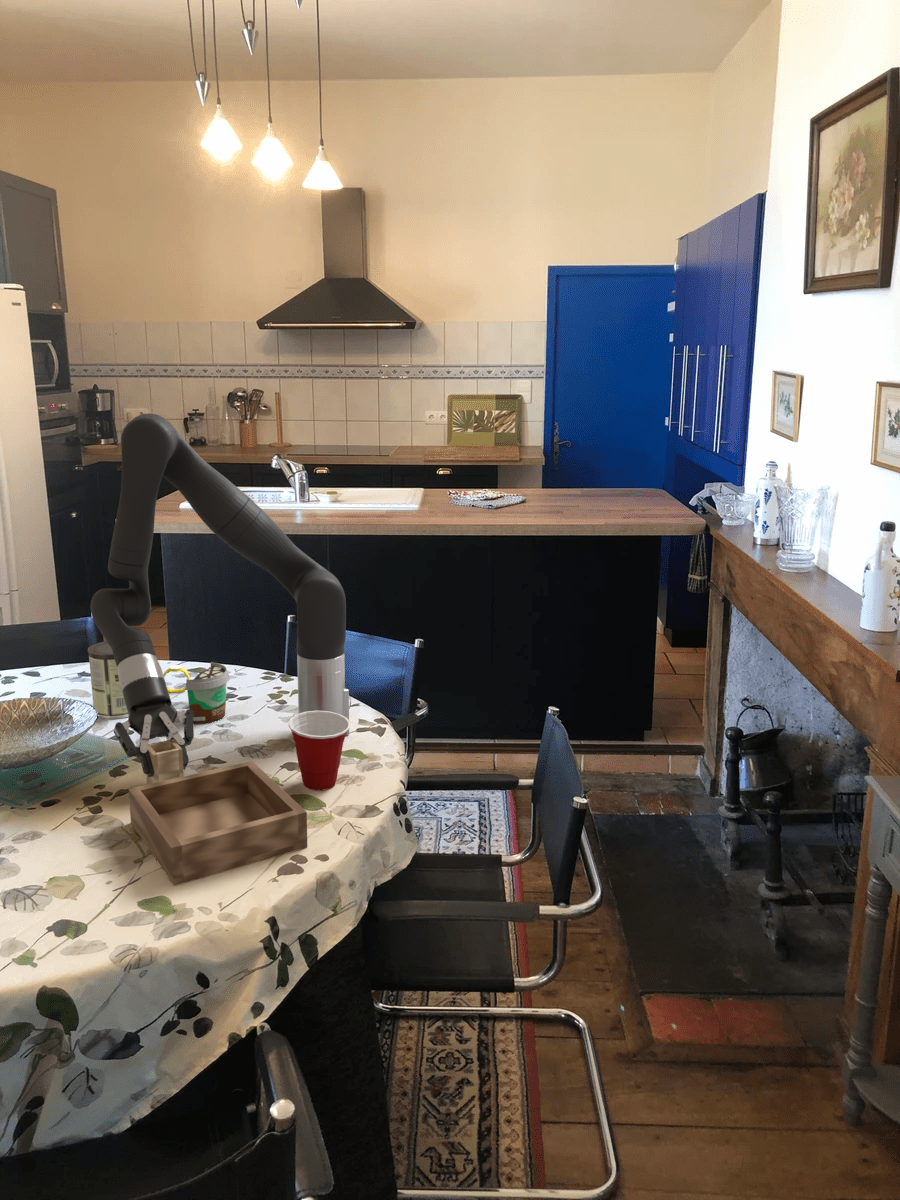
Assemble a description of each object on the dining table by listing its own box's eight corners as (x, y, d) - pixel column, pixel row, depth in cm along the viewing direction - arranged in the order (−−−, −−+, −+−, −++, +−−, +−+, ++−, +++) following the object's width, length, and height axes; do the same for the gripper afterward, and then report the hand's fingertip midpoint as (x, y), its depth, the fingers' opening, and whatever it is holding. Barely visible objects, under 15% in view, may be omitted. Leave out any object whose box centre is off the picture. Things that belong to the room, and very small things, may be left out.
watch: (189, 690, 215) (190, 665, 214) (189, 694, 213) (189, 669, 211) (162, 689, 214) (162, 664, 213) (161, 693, 212) (161, 668, 210)
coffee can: (122, 698, 209) (117, 636, 205) (154, 708, 204) (150, 645, 200) (82, 712, 200) (76, 648, 197) (114, 723, 195) (109, 657, 192)
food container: (215, 729, 193) (213, 682, 190) (187, 726, 194) (185, 680, 191) (240, 708, 205) (238, 663, 202) (213, 705, 206) (211, 661, 203)
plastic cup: (325, 803, 163) (323, 738, 159) (277, 787, 168) (275, 724, 165) (363, 780, 171) (363, 718, 168) (316, 766, 177) (315, 705, 174)
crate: (253, 792, 166) (252, 760, 164) (307, 847, 148) (306, 812, 147) (130, 822, 155) (128, 788, 153) (173, 885, 137) (171, 848, 136)
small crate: (175, 780, 170) (173, 739, 168) (184, 791, 166) (182, 749, 164) (147, 787, 167) (144, 745, 165) (155, 798, 163) (153, 755, 161)
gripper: (104, 682, 164) (129, 772, 157) (186, 668, 172) (213, 753, 165) (99, 701, 170) (122, 789, 163) (178, 687, 177) (204, 770, 171)
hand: (168, 771), depth 164 cm, fingers closed on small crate, 5 cm apart
